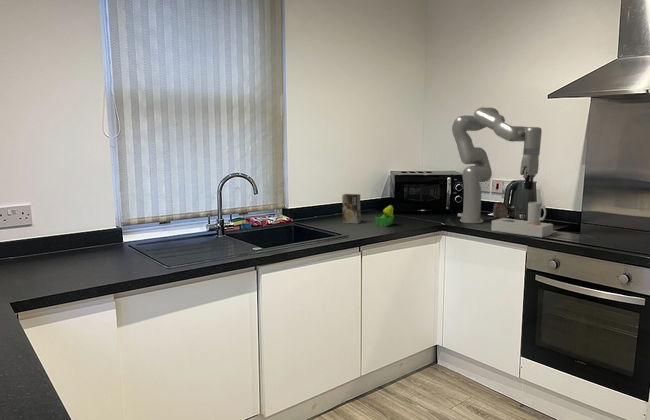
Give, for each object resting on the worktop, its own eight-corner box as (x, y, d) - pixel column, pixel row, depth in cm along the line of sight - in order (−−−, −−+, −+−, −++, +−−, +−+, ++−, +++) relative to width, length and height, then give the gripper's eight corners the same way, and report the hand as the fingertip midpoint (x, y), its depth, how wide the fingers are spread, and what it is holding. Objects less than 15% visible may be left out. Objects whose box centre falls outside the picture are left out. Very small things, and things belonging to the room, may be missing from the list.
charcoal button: (502, 230, 253) (502, 220, 252) (506, 228, 256) (507, 219, 255) (511, 231, 249) (511, 222, 248) (516, 230, 252) (516, 220, 252)
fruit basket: (381, 223, 277) (381, 203, 275) (396, 224, 273) (396, 204, 271) (373, 226, 267) (374, 205, 266) (389, 227, 263) (389, 206, 261)
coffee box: (361, 222, 280) (361, 194, 278) (357, 224, 275) (357, 195, 272) (345, 221, 284) (345, 193, 282) (342, 223, 278) (342, 194, 276)
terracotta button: (526, 232, 243) (527, 222, 242) (531, 230, 246) (531, 221, 246) (536, 233, 239) (537, 223, 239) (541, 232, 243) (541, 222, 242)
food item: (508, 220, 283) (509, 203, 282) (494, 220, 284) (494, 203, 283) (504, 216, 296) (505, 200, 295) (490, 216, 298) (491, 200, 296)
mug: (524, 224, 270) (525, 202, 268) (531, 223, 274) (532, 201, 272) (541, 226, 262) (543, 204, 260) (548, 225, 266) (550, 203, 264)
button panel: (491, 230, 253) (491, 220, 252) (502, 227, 261) (503, 218, 260) (541, 237, 234) (542, 227, 233) (552, 234, 242) (553, 224, 242)
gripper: (531, 151, 251) (528, 187, 254) (516, 152, 241) (513, 189, 245) (545, 152, 246) (542, 188, 249) (531, 153, 236) (528, 191, 239)
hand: (528, 189), depth 247 cm, fingers closed
